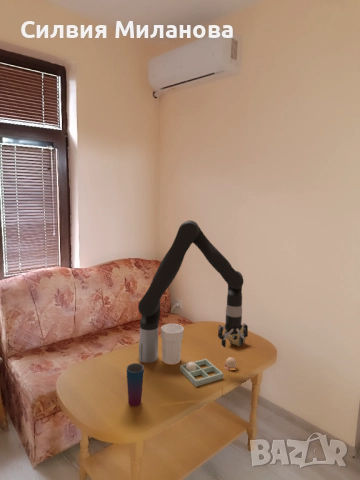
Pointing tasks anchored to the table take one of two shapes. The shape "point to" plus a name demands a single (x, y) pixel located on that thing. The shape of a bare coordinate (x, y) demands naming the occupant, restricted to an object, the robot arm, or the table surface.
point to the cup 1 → (135, 383)
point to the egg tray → (202, 373)
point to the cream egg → (191, 366)
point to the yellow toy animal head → (235, 338)
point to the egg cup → (227, 367)
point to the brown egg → (231, 362)
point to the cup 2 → (171, 343)
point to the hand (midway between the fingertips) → (232, 345)
